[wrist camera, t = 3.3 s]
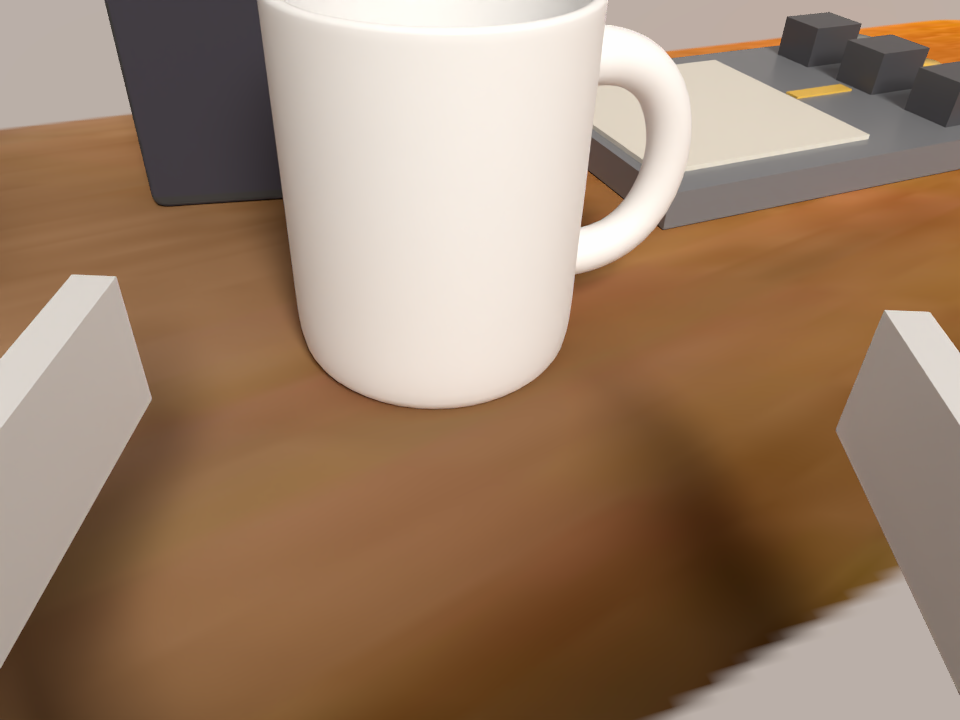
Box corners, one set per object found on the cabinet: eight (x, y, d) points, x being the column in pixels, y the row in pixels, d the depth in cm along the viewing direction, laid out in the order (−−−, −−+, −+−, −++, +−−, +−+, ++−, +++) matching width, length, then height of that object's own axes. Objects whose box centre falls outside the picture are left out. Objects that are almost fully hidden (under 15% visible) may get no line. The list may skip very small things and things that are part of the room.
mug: (608, 240, 30) (653, -63, 24) (722, 371, 24) (822, 9, 18) (288, 282, 27) (242, -52, 21) (323, 444, 21) (273, 39, 15)
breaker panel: (663, 229, 31) (679, 143, 29) (508, 106, 41) (511, 36, 39) (1044, 151, 38) (1080, 78, 36) (834, 63, 48) (852, 2, 46)
